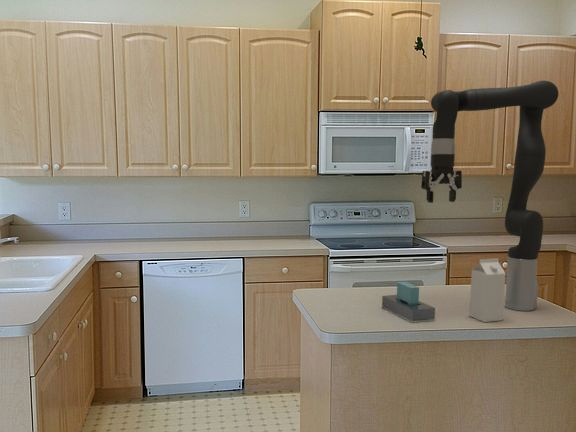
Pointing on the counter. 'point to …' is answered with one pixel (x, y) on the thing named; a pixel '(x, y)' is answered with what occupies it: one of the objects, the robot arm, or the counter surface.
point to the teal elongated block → (408, 293)
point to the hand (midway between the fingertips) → (441, 202)
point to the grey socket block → (408, 309)
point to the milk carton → (487, 291)
